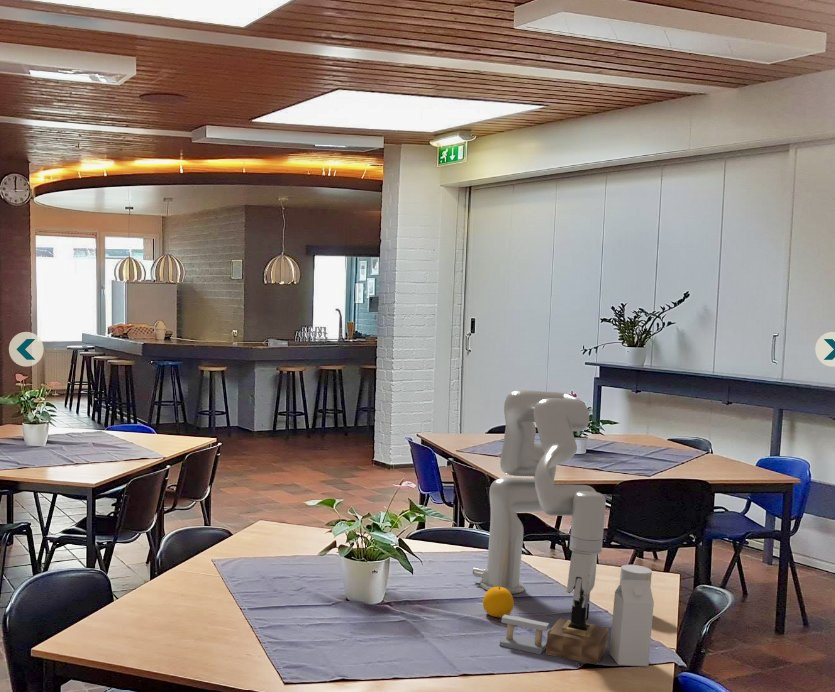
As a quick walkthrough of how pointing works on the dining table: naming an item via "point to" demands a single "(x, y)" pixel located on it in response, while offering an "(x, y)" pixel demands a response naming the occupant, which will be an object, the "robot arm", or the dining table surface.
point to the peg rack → (521, 642)
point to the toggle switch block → (577, 642)
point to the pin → (583, 627)
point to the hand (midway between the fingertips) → (579, 620)
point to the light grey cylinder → (635, 573)
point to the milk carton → (632, 623)
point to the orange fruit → (498, 602)
